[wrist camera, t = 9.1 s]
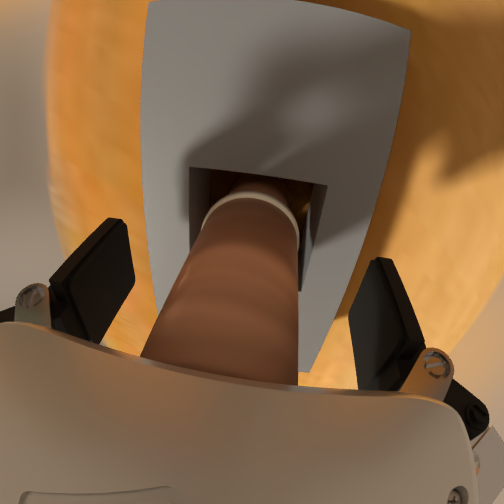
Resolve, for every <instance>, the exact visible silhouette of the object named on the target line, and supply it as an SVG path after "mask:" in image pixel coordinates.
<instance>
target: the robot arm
mask: <svg viewBox="0 0 504 504" xmlns="http://www.w3.org/2000/svg"><path fill="white" fill-rule="evenodd" d="M49 282H50V284H51V285H50V286H49V287H47V286H46V285H44V284H42V283H35V284H31V285H28V286H27V287H25V288H24V289H22V290H21V291H20V293H19V294H18V296H17V297H16V301H15V306H14V307H11V308H8V309H6V310H3V311H0V504H492V503H493V501H494V500H495V499H496V497H497V496H498V494H499V493H500V492H501V490H502V489H503V488H504V442H503V440H502V439H501V437H500V436H499V434H498V433H497V431H496V430H495V428H494V427H493V426H491V427H489V426H488V424H489V413H488V410H487V408H486V406H485V405H484V404H483V403H482V402H481V401H480V400H479V399H478V398H476V397H475V396H474V395H473V394H472V393H470V392H469V391H468V390H467V389H465V388H464V387H462V385H460V384H459V383H458V382H457V381H455V380H454V379H453V375H454V366H453V363H452V361H451V359H450V358H449V356H448V355H447V354H446V353H445V352H443V351H442V350H440V349H437V348H433V347H432V348H427V349H426V346H425V343H424V342H425V340H424V337H423V334H422V331H421V329H420V326H419V323H418V320H417V318H416V315H415V313H414V310H413V307H412V305H411V302H410V300H409V297H408V295H407V293H406V290H405V288H404V285H403V283H402V281H401V278H400V276H399V274H398V272H397V269H396V267H395V265H394V263H393V261H392V259H389V258H383V257H376V259H375V260H371V261H370V264H369V266H368V269H367V271H366V274H365V276H364V278H363V281H362V283H361V286H360V288H359V290H358V293H357V295H356V297H355V300H354V302H353V304H352V306H351V309H350V311H349V316H348V320H349V326H350V333H351V339H352V346H353V352H354V359H355V367H356V375H357V383H358V390H351V389H334V388H319V387H306V386H295V385H286V384H277V383H269V382H261V381H254V380H247V379H241V378H235V377H229V376H223V375H217V374H212V373H207V372H202V371H197V370H192V369H187V368H183V367H179V366H174V365H170V364H166V363H162V362H158V361H154V360H150V359H146V358H142V357H139V356H135V355H131V354H128V353H125V352H121V351H118V350H114V349H111V348H108V347H105V346H102V345H99V344H100V342H101V340H102V339H103V337H104V335H105V333H106V331H107V330H108V328H109V326H110V324H111V323H112V321H113V319H114V318H115V316H116V314H117V312H118V311H119V309H120V307H121V306H122V304H123V302H124V301H125V299H126V297H127V296H128V294H129V293H130V291H131V289H132V288H133V286H134V284H135V273H134V268H133V262H132V256H131V250H130V244H129V237H128V230H127V225H126V224H125V223H124V222H123V220H122V219H116V218H107V219H106V220H105V221H104V222H103V223H102V224H101V225H100V226H99V227H98V228H97V229H96V230H95V231H94V232H93V233H92V234H91V235H90V236H89V237H88V238H87V239H86V240H85V241H84V242H83V243H82V244H81V245H80V246H79V247H78V248H77V249H76V250H75V251H74V252H73V253H72V254H71V255H70V257H69V258H68V259H67V260H66V261H65V262H64V263H63V264H62V266H60V268H59V269H58V270H57V271H56V272H55V273H54V274H53V276H52V277H51V278H50V279H49Z"/></svg>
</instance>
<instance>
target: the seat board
mask: <svg viewBox="0 0 504 504" xmlns="http://www.w3.org/2000/svg"><path fill="white" fill-rule="evenodd" d="M410 38H411V30H408V29H406V28H403V27H400V26H398V25H395V24H392V23H389V22H386V21H383V20H380V19H377V18H374V17H370V16H367V15H363V14H360V13H356V12H352V11H348V10H344V9H340V8H336V7H331V6H326V5H321V4H316V3H310V2H304V1H297V0H159V1H152V2H149V6H148V13H147V21H146V29H145V39H144V50H143V64H142V82H141V166H142V185H143V200H144V212H145V223H146V233H147V242H148V251H149V259H150V266H151V274H152V280H153V287H154V293H155V299H156V305H157V311H158V316H159V313H160V311H161V309H162V307H163V305H164V303H165V301H166V299H167V297H168V295H169V293H170V290H171V288H172V286H173V284H174V282H175V280H176V278H177V276H178V274H179V272H180V270H181V268H182V266H183V264H184V262H185V260H186V258H187V256H188V254H189V253H190V251H191V249H192V247H193V245H194V243H195V241H196V239H197V237H198V235H199V233H200V231H201V228H202V224H203V221H204V219H205V217H206V215H207V213H208V212H209V210H210V187H211V169H218V170H227V171H235V172H243V173H251V174H259V175H266V176H273V177H280V178H286V179H293V180H299V181H305V182H311V183H313V188H312V193H311V198H310V203H309V208H308V212H307V217H306V222H305V226H304V231H303V235H302V240H301V244H300V248H299V249H298V252H297V256H298V314H299V339H298V372H307V373H309V372H310V370H311V368H312V366H313V364H314V362H315V360H316V357H317V355H318V353H319V351H320V349H321V347H322V345H323V342H324V340H325V338H326V336H327V334H328V331H329V329H330V327H331V324H332V322H333V320H334V318H335V315H336V313H337V310H338V308H339V306H340V303H341V301H342V298H343V296H344V293H345V291H346V288H347V286H348V283H349V281H350V278H351V275H352V273H353V270H354V267H355V265H356V262H357V259H358V256H359V254H360V251H361V248H362V245H363V242H364V239H365V236H366V233H367V230H368V227H369V224H370V221H371V218H372V215H373V212H374V209H375V205H376V202H377V199H378V195H379V192H380V188H381V185H382V181H383V178H384V174H385V170H386V166H387V163H388V159H389V155H390V151H391V147H392V142H393V138H394V134H395V129H396V125H397V120H398V115H399V110H400V105H401V100H402V94H403V89H404V83H405V76H406V70H407V63H408V55H409V47H410Z"/></svg>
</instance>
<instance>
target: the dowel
mask: <svg viewBox="0 0 504 504" xmlns="http://www.w3.org/2000/svg"><path fill="white" fill-rule="evenodd" d="M298 249H299V229H298V224H297V221H296V219H295V217H294V215H293V214H292V212H291V211H290V196H289V191H288V189H287V187H286V185H285V183H284V182H283V181H282V180H281V179H280V178H279V177H273V176H266V175H259V174H251V173H244V174H242V175H241V176H239V177H238V178H237V179H236V180H235V181H234V183H233V184H232V186H231V188H230V190H229V192H228V194H227V195H226V196H224V197H223V198H221V199H220V200H218V201H217V202H216V203H215V204H214V205H213V206H212V207H211V209H210V210H209V212H208V213H207V215H206V217H205V219H204V221H203V224H202V228H201V231H200V233H199V235H198V237H197V239H196V241H195V243H194V245H193V247H192V249H191V251H190V253H189V254H188V256H187V258H186V260H185V262H184V264H183V266H182V268H181V270H180V272H179V274H178V276H177V278H176V280H175V282H174V284H173V286H172V288H171V290H170V293H169V295H168V297H167V299H166V301H165V303H164V305H163V307H162V309H161V311H160V313H159V316H158V318H157V320H156V322H155V324H154V326H153V328H152V331H151V333H150V335H149V337H148V339H147V342H146V344H145V346H144V348H143V351H142V353H141V355H140V357H142V358H146V359H150V360H154V361H158V362H162V363H166V364H170V365H174V366H179V367H183V368H187V369H192V370H197V371H202V372H207V373H212V374H217V375H223V376H229V377H235V378H241V379H247V380H254V381H261V382H269V383H277V384H286V385H295V386H298V339H299V314H298V256H297V252H298Z"/></svg>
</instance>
